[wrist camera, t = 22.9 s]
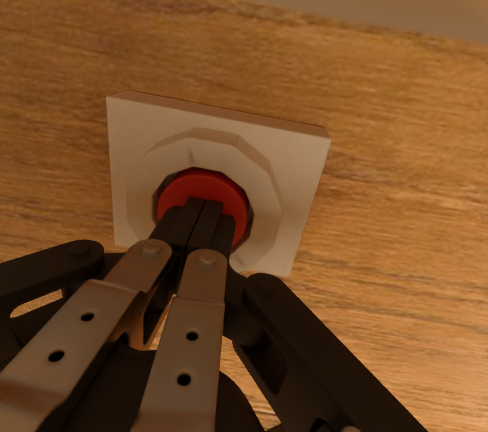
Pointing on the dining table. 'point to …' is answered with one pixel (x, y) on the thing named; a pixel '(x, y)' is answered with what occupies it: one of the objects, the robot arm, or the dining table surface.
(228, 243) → the robot arm
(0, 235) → the dining table surface
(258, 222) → the box
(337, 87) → the dining table surface
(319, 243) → the dining table surface
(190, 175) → the button
